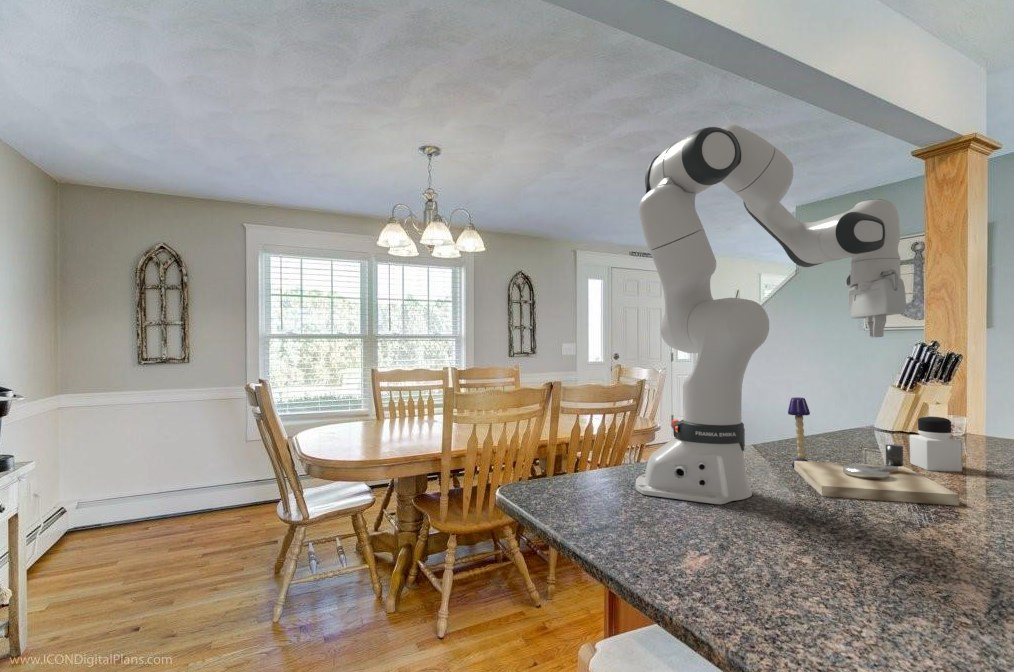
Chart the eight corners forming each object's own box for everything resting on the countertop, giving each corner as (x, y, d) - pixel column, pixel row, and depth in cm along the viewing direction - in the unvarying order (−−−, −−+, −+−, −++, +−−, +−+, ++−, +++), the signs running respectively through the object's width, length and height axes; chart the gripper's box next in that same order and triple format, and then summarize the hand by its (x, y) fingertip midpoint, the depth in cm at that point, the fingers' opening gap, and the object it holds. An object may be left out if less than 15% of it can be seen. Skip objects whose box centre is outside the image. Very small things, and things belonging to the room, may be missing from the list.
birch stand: (822, 496, 99) (821, 485, 99) (794, 469, 120) (794, 460, 120) (959, 505, 92) (958, 494, 92) (904, 475, 113) (904, 466, 113)
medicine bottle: (963, 472, 115) (961, 419, 116) (927, 471, 117) (926, 419, 117) (943, 464, 122) (941, 415, 122) (909, 463, 124) (908, 414, 124)
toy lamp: (790, 468, 121) (788, 398, 121) (788, 463, 125) (786, 396, 125) (813, 469, 119) (811, 399, 119) (810, 465, 123) (808, 397, 123)
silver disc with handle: (872, 480, 101) (871, 454, 101) (834, 470, 108) (833, 447, 108) (919, 473, 106) (919, 448, 106) (880, 464, 113) (879, 442, 113)
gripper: (915, 267, 101) (916, 336, 100) (873, 280, 120) (873, 337, 120) (878, 268, 102) (879, 336, 102) (842, 281, 122) (843, 338, 122)
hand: (876, 337), depth 111 cm, fingers closed
